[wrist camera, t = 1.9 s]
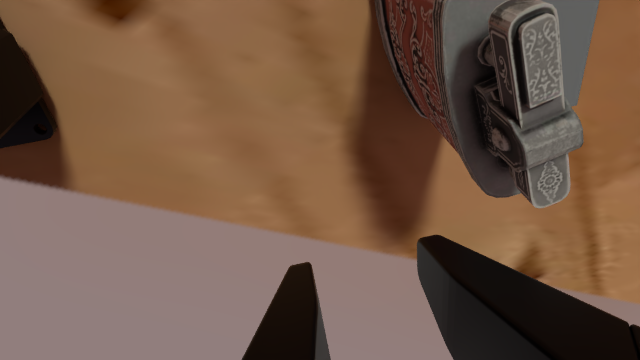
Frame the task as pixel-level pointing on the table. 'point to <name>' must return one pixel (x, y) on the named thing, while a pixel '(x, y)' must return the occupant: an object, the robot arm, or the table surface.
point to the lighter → (488, 88)
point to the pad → (574, 41)
